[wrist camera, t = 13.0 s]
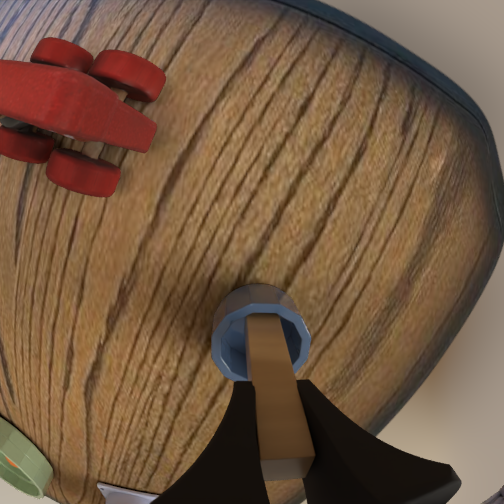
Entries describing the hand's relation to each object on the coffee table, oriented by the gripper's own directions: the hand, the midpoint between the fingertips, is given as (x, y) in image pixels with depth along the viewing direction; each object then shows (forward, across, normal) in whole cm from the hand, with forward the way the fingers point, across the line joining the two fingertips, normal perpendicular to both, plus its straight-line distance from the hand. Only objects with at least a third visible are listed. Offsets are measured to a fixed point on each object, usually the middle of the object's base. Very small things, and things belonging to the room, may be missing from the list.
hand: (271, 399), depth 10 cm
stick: (+5, 0, -1) cm, 5 cm away
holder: (+7, 0, 0) cm, 7 cm away
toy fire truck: (+7, +11, -12) cm, 18 cm away
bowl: (+7, +28, +21) cm, 36 cm away
